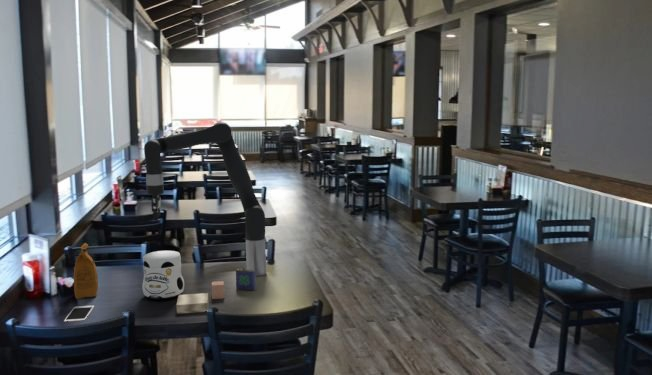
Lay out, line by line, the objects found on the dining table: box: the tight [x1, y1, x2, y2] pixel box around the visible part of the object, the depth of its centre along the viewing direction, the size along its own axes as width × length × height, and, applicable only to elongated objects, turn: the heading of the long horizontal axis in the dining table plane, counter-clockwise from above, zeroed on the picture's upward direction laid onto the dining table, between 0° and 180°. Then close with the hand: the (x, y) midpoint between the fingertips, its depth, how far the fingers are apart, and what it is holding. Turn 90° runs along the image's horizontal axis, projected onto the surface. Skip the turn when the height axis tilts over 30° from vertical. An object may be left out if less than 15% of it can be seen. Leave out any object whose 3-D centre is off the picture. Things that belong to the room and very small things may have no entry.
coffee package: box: [73, 242, 99, 300], centre depth 250 cm, size 10×12×22 cm
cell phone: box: [63, 305, 95, 323], centre depth 230 cm, size 8×16×1 cm, turn 9°
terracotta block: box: [211, 280, 225, 300], centre depth 248 cm, size 5×5×6 cm
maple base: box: [176, 292, 209, 315], centre depth 235 cm, size 12×12×4 cm
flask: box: [235, 265, 257, 292], centre depth 256 cm, size 9×3×11 cm, turn 74°
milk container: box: [141, 250, 185, 300], centre depth 249 cm, size 17×17×18 cm
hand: (156, 218), depth 268 cm, fingers open, 8 cm apart
